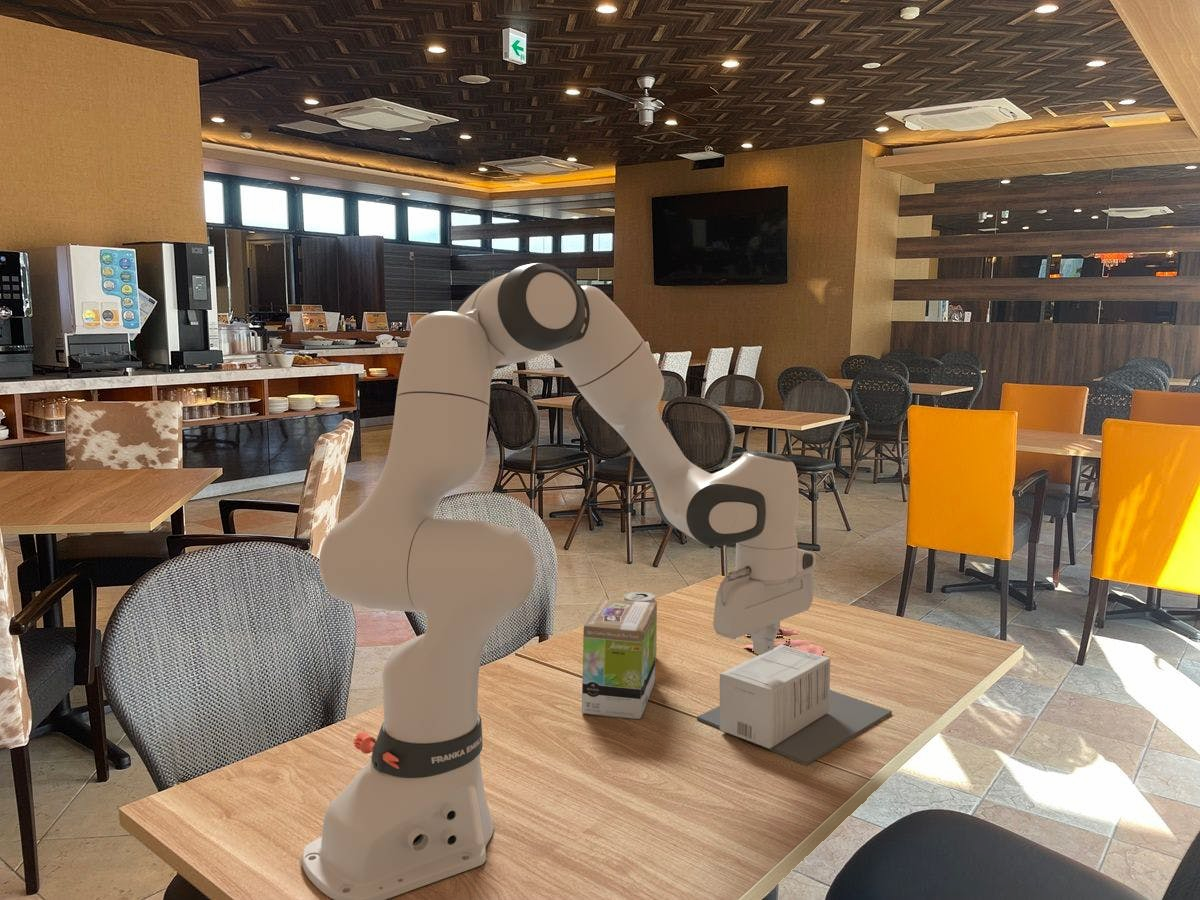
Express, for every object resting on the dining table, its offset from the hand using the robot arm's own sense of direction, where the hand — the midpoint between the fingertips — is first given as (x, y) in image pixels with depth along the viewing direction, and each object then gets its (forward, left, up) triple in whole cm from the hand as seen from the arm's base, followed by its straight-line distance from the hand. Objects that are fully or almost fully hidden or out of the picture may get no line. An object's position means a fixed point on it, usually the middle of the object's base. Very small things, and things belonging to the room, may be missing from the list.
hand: (763, 651), depth 132 cm
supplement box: (-4, 0, -8) cm, 9 cm away
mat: (+9, 0, -13) cm, 16 cm away
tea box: (-6, +24, -13) cm, 28 cm away
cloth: (+34, +23, -14) cm, 43 cm away
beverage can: (+9, +34, -13) cm, 38 cm away
